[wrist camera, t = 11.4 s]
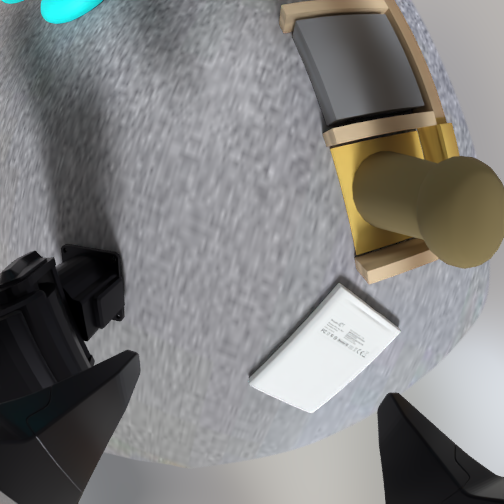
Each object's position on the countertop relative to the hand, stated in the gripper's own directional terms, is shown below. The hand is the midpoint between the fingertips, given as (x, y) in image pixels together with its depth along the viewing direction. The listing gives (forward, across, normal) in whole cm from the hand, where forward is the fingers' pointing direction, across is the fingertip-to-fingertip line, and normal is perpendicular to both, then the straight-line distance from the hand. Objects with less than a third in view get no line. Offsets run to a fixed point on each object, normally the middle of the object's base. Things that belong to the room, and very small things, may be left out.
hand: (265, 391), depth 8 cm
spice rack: (+14, -6, -11) cm, 18 cm away
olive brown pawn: (+14, -8, -7) cm, 17 cm away
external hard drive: (+14, -6, +8) cm, 18 cm away
